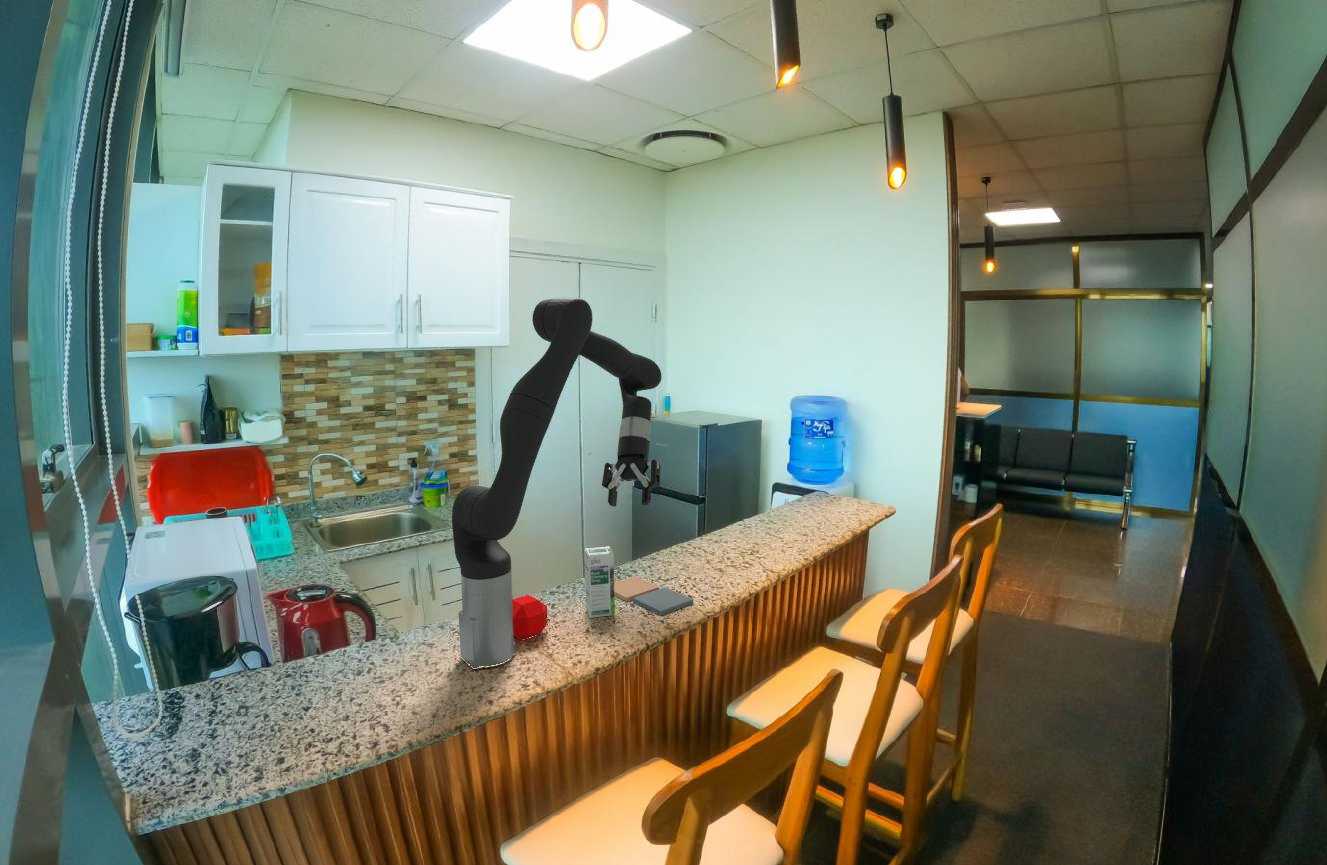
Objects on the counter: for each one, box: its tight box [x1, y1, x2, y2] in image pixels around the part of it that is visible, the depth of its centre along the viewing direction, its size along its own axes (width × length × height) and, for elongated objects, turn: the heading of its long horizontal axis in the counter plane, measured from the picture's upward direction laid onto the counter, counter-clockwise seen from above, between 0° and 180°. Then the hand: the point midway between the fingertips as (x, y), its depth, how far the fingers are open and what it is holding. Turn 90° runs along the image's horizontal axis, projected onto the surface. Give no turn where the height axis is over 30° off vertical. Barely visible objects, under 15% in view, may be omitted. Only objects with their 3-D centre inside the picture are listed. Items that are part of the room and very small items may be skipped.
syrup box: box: [583, 545, 616, 619], centre depth 140 cm, size 6×6×14 cm
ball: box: [512, 594, 549, 640], centre depth 129 cm, size 8×8×8 cm
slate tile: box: [632, 586, 694, 616], centre depth 145 cm, size 10×10×1 cm
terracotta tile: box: [614, 575, 660, 603], centre depth 153 cm, size 10×10×1 cm
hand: (628, 505), depth 145 cm, fingers open, 8 cm apart
